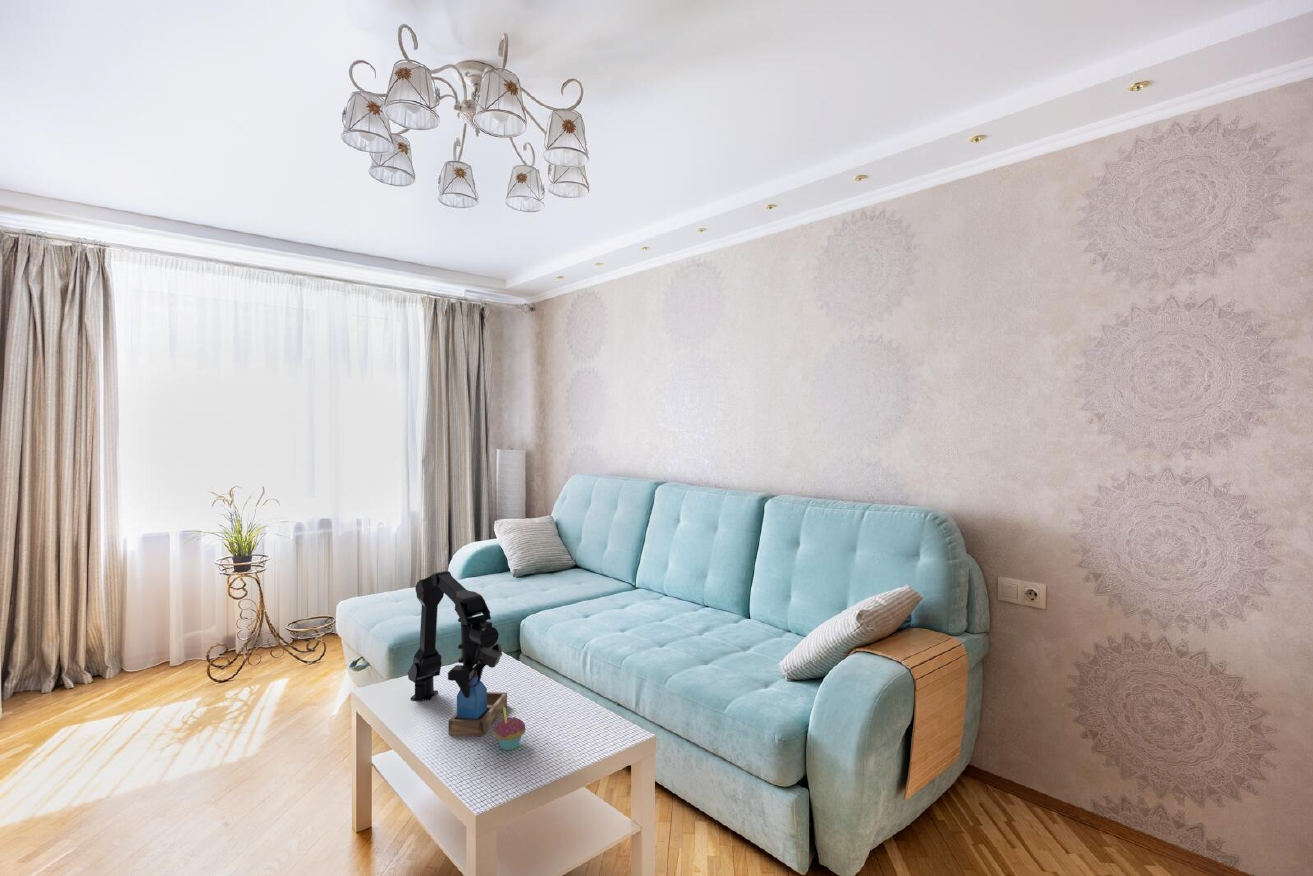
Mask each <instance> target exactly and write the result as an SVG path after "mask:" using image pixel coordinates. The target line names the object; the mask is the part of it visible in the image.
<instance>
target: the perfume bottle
mask: <svg viewBox="0 0 1313 876" xmlns="http://www.w3.org/2000/svg"><path fill="white" fill-rule="evenodd" d="M474 675H476V676H475V677H474V678H473V679H472V680H471V688H470V695H469V698H465V697H464V695H463V693H462V691H461V689H460V688H459V691H458V693H457V694H456V712H457V717H460V718H470V719H478V718H479V717H480V716H481V715H482V714H483V713H484V712H485V711H486V710H487V692H488V689H487V687H486V685H485V684H484V683H483V681H481V680H480V681H477V680H478V675H477V671H476V670H474Z"/></svg>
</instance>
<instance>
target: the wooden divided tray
mask: <svg viewBox="0 0 1313 876" xmlns="http://www.w3.org/2000/svg"><path fill="white" fill-rule="evenodd" d="M503 705H504V707H505V708H506V707H507V706H508V692H503V691H502V692H501V691H500V692H498V691H497V692H496V691H487V710H486V711H485V712H484V713H483V714H482V715H481V716H480V717H479V718H478V719H470V718H460V717H457V711H456V712H455V713H454V714H453V715H452V717H451V718H449V720H447V721H448V736H464V737H465V736H466V737H468V736H469V737H483V736H484V735H485V734H486V733H485V732H487V731H488V730H489V729H490V728H491V726H492V725H493V724H494V723H495V722H496V720H497V719H498V718H499V716H500V715H501V714H502V713H503ZM506 705H507V706H506ZM499 714H500V715H499Z"/></svg>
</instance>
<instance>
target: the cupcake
mask: <svg viewBox="0 0 1313 876" xmlns="http://www.w3.org/2000/svg"><path fill="white" fill-rule="evenodd" d="M502 713H503V719H501V720H500V721H498V722H497V723H496V724H495V726H493V727H494V728H493V736H494V738H495V739H497V740H498V741H499V746H500V748H501V749H502V750H504V751H512V750H515V749H517V748H518V747H519V746H520V742H521V738H522V736H523V735H525V733H526V730H527V729H526V724H525V722H524V721H523V720H522V719H520V718H518V717H508V715H507V710H506V707H504V705H503V711H502Z"/></svg>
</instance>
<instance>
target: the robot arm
mask: <svg viewBox="0 0 1313 876" xmlns="http://www.w3.org/2000/svg"><path fill="white" fill-rule="evenodd" d="M414 589H415V592H416V598H417V600H418V601H419V603H420V604H421V610H420V612H421V613H420V615H421V616H420V634H419V635H420V637H419V648H418V649H417V651H416V652H415V654H414V655H413V661H412V665H411V666H410V668H409V669H408V672H407V679H408V680H410V681H411V682H413V683H414V694H413V695H412V696H410V700H412V701H413V700H414V701H430V700H431V699H432V698H433V697H435V696H436V695H437V694H438V693H439V690H435V687H434V681H435V679H434V678H435V677H438V676H440V675H441V669H442V664H443V663H442V655H441V654H440V653H439V652H438V650H437V648H436V647H437V628H438V627H437V626H438V607H439V604H440V603H441V601H442V600H443V598H444V596H447V597H448V598H449V599H450V600H451V601H452V603H453V604H454V611H455V613H456V615H457V616H458V617H459V618H458V619H457V622H458V623H460V643H459V644H458V645H457V647H458V648H457V649H458V650H460V658H458V664H455V665H454V667H451V669H450V670H449V671H448V672H447V680H448V681H453V682H455V683H456V684H457V686H458V687H459V690H460V689H461V691H462V693H463V695H464V697H465V698H469V695H470V688H471V680H472V679H473V678H474V677H475V676H476V675H474V670H476V671H477V675H478V680H477V681H481V679H482V675H483V671H484V668H485V667H486V666H488V667H489V668H492V669H493V668H495V667H496V666H497V665H498V664H499V662H500V659H501V657H502V656H503V650H502V646H501V644H499V643H497V642H498V641H499V636H500V635H499V632H498V629H497V628H496V627H494V626H493V623H492V622H491V621H488V620H491V619H492V617H491V611H490V609H489V607H488V605H487V603H486V600H485V598H484V597H483V596H482V595H481V594H480V593H478V592H476V591H472V590H467V589H466V588H465V587H464V586H463V585H462V584H461V583H460V582H459V581H458V580H457V579H455V578H454V577H453V576H452V573H451V572H450V570H449V571H448V570H443V571H439V572H438V571H437V572H434V573H433V574H431V575H430V576H428V577H426V578H423V579H419V580H418V581H417V582H416V585H415V588H414ZM461 664H462V665H461Z"/></svg>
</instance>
